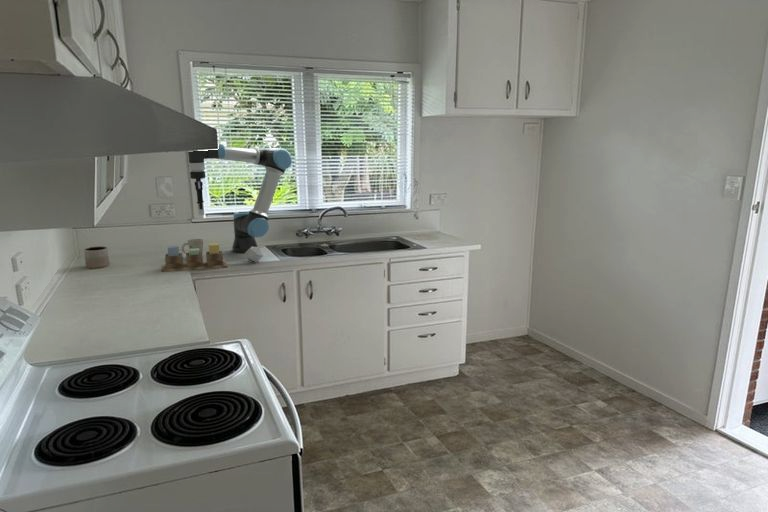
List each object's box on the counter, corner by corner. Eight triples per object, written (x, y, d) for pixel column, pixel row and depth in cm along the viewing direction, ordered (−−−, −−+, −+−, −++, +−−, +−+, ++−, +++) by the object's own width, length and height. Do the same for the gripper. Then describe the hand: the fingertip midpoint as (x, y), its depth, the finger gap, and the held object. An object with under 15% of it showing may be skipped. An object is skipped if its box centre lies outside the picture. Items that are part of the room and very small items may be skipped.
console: (225, 261, 281) (225, 249, 279) (227, 267, 269) (226, 254, 268) (163, 265, 270) (161, 253, 268) (161, 271, 258) (160, 258, 257)
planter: (81, 267, 266) (79, 249, 263) (101, 262, 275) (99, 245, 273) (94, 269, 261) (92, 251, 258) (114, 265, 270) (112, 247, 268)
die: (266, 261, 285) (261, 246, 288) (261, 257, 276) (256, 241, 279) (252, 267, 285) (247, 251, 288) (246, 263, 276) (241, 246, 279)
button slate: (179, 258, 268) (178, 245, 267) (179, 260, 264) (178, 247, 262) (169, 258, 267) (168, 245, 265) (168, 261, 262) (167, 247, 260)
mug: (201, 259, 286) (200, 241, 284) (179, 258, 286) (177, 241, 284) (206, 256, 294) (205, 239, 292) (184, 255, 294) (183, 238, 292)
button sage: (199, 261, 272) (198, 248, 271) (200, 263, 268) (199, 250, 266) (189, 261, 270) (188, 248, 269) (189, 263, 266) (188, 250, 264)
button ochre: (219, 255, 275) (218, 243, 274) (219, 257, 271) (218, 244, 269) (209, 256, 273) (208, 243, 272) (209, 258, 269) (208, 245, 267)
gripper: (189, 170, 274) (193, 213, 280) (190, 172, 262) (194, 217, 268) (204, 169, 277) (208, 212, 282) (205, 171, 265) (209, 216, 270)
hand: (201, 214), depth 275 cm, fingers closed
